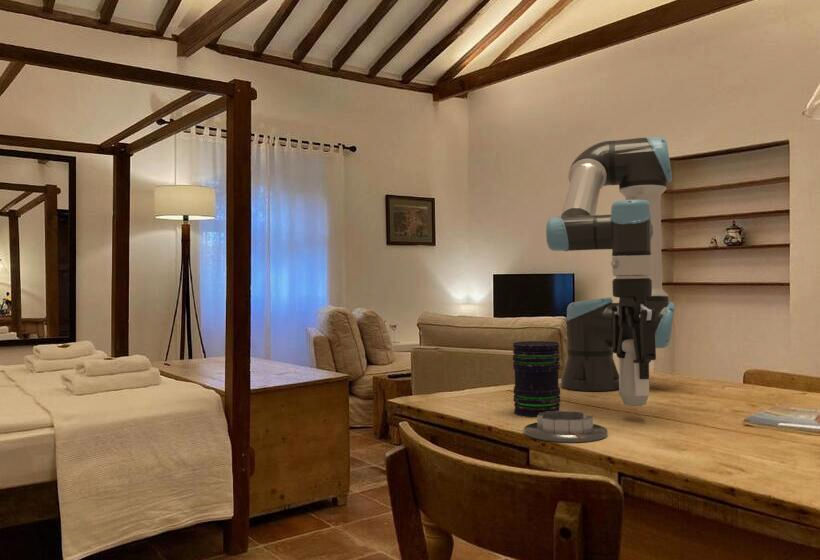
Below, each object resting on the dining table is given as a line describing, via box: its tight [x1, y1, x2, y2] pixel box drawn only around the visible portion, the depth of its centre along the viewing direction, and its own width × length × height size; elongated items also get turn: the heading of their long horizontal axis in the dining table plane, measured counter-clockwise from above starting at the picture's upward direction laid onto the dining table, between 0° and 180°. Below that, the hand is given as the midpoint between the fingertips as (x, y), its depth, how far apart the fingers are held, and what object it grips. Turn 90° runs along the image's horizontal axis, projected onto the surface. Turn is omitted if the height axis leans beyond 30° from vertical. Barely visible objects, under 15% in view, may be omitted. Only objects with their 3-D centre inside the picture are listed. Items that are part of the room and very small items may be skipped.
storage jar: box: [512, 340, 561, 418], centre depth 148 cm, size 10×10×15 cm
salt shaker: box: [618, 339, 650, 407], centre depth 139 cm, size 6×6×13 cm
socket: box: [523, 409, 608, 444], centre depth 128 cm, size 15×15×3 cm
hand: (634, 392), depth 139 cm, fingers closed on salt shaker, 6 cm apart
